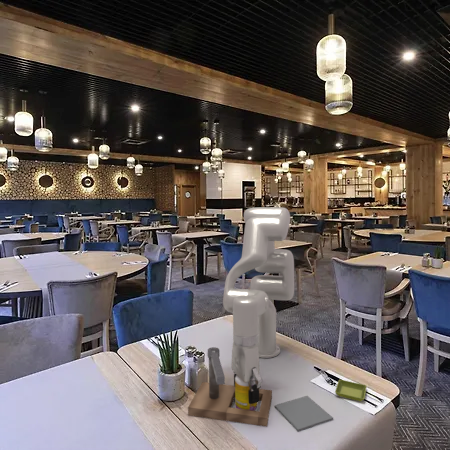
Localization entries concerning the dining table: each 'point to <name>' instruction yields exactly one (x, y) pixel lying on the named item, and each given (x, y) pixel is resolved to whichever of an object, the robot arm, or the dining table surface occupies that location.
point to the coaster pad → (303, 413)
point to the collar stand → (227, 403)
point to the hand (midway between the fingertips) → (246, 393)
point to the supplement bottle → (243, 395)
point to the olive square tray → (351, 390)
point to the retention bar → (216, 365)
